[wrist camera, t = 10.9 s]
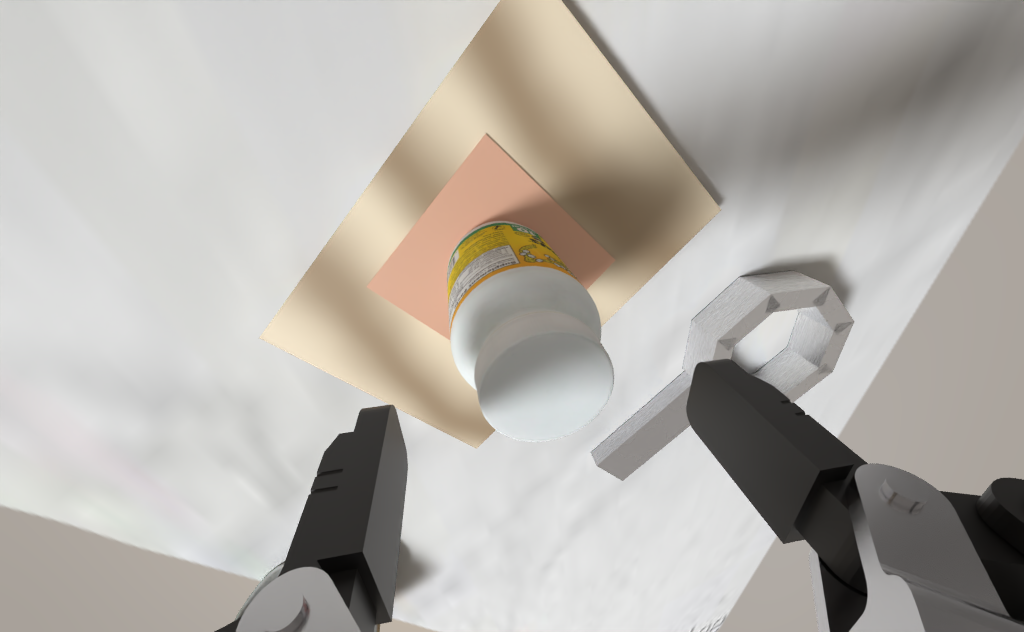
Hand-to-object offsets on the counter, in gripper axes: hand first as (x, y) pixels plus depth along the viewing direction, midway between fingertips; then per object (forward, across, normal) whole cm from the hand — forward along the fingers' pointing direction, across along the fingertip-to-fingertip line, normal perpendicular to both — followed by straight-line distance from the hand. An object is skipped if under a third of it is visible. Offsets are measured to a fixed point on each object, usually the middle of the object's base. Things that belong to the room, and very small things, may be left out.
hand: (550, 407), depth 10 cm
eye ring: (+11, -13, +10) cm, 20 cm away
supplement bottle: (+10, 0, 0) cm, 11 cm away
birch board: (+11, 0, 0) cm, 11 cm away
